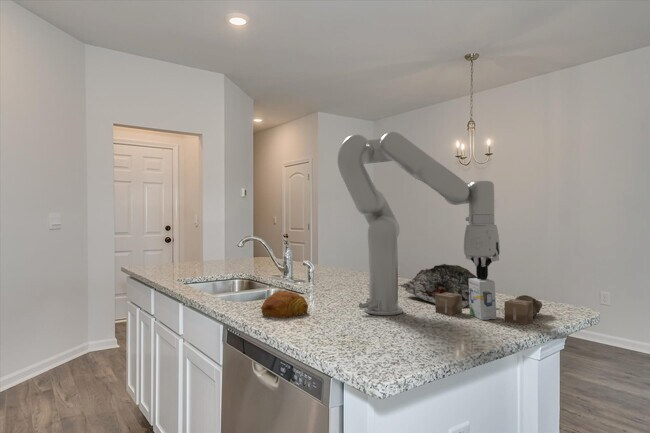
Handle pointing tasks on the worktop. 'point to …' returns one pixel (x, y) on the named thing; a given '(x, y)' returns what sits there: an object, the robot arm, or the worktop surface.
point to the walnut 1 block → (518, 311)
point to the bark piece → (440, 283)
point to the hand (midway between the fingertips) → (482, 278)
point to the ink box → (482, 298)
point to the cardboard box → (448, 303)
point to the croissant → (284, 305)
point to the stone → (536, 303)
